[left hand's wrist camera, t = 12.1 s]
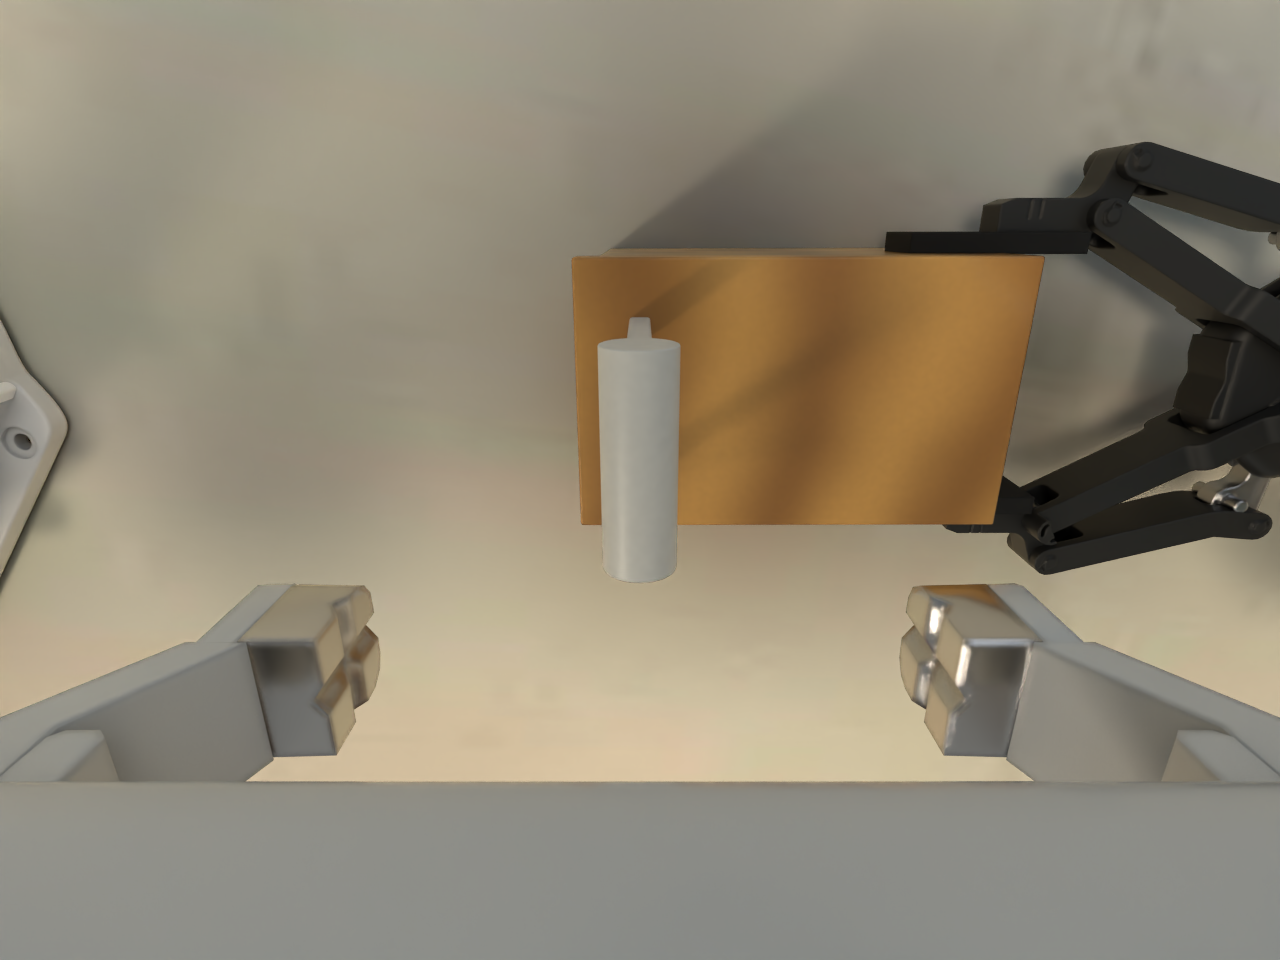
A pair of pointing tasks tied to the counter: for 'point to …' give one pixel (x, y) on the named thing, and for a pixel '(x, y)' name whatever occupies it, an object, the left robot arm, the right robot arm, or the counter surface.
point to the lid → (792, 392)
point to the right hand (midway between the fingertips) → (881, 376)
